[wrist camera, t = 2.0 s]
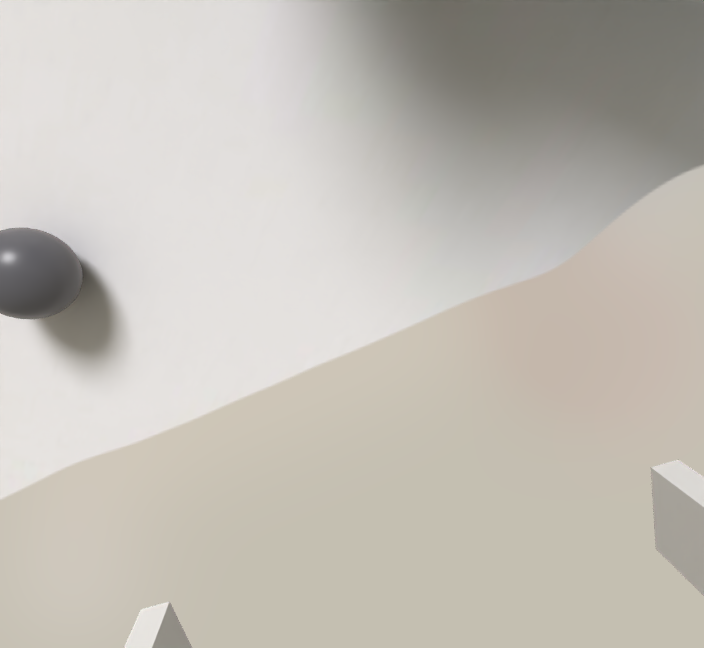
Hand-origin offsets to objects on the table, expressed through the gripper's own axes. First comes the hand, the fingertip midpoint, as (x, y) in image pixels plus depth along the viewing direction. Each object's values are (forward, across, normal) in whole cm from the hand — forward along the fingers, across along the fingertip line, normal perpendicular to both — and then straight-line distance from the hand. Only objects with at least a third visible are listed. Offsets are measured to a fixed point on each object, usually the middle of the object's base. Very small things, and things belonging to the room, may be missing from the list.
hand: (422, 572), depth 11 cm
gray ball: (+18, -18, +11) cm, 28 cm away
